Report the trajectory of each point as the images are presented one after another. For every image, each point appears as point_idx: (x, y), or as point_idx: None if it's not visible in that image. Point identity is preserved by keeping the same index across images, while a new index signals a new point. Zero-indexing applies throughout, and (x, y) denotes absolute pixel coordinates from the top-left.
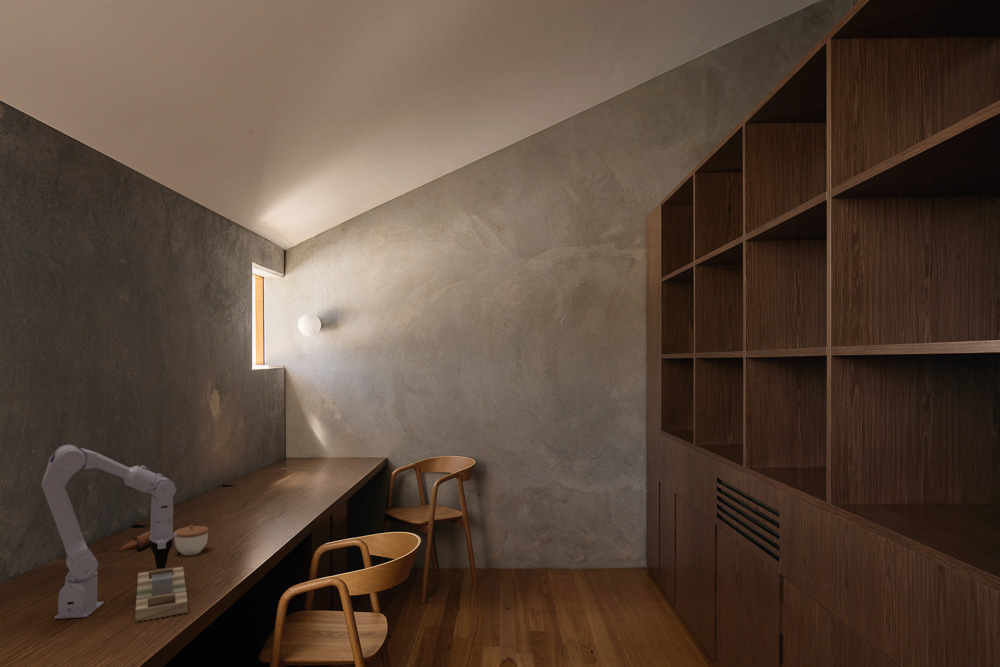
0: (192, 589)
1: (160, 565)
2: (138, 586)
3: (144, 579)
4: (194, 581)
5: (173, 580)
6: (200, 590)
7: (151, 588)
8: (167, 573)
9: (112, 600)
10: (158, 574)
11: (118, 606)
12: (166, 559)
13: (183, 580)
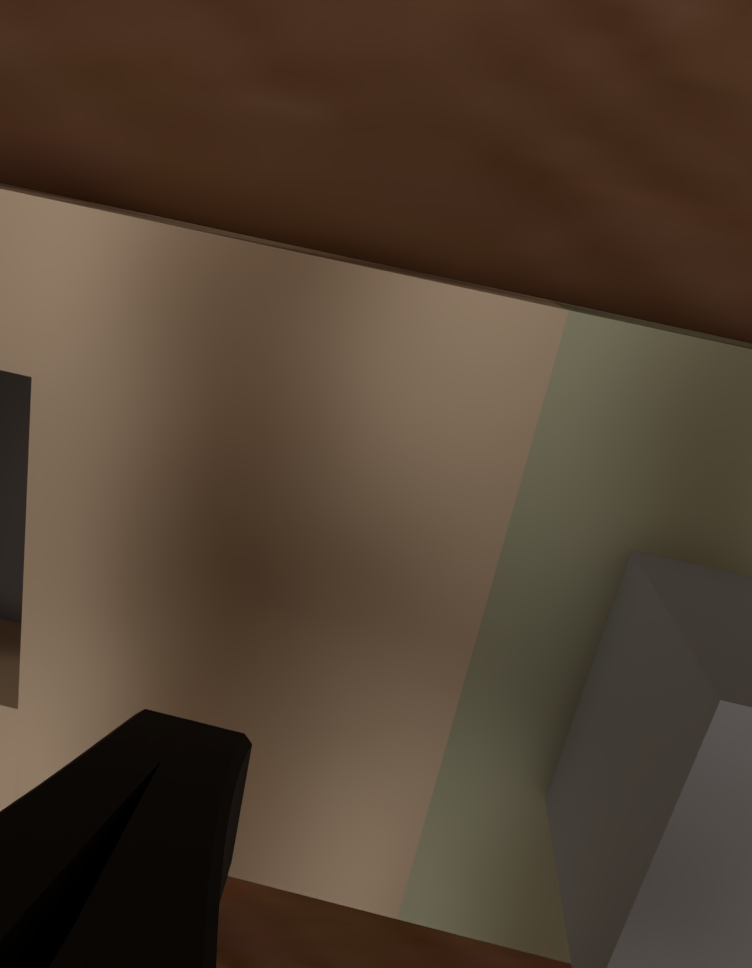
0: (465, 158)
1: (222, 877)
2: (269, 874)
3: (8, 751)
4: (94, 27)
5: (319, 450)
6: (610, 52)
7: (483, 789)
8: (730, 803)
9: (232, 948)
10: (640, 943)
11: (454, 957)
12: (218, 906)
13: (439, 307)
